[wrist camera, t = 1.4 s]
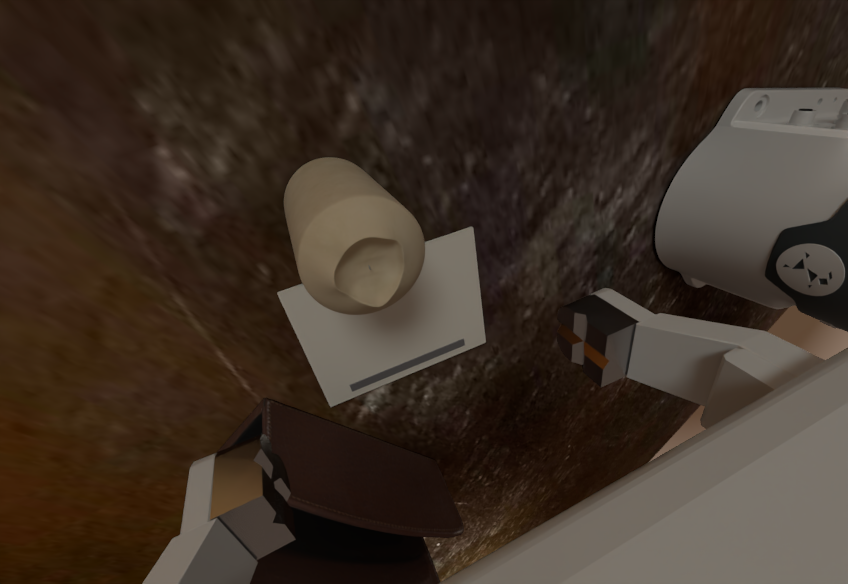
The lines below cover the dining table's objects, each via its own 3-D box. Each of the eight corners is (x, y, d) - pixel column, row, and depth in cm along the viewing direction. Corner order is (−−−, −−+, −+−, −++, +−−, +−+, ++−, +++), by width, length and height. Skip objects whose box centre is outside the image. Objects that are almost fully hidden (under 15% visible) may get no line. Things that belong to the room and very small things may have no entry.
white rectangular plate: (471, 226, 28) (473, 228, 27) (484, 340, 34) (486, 343, 33) (277, 292, 24) (277, 295, 24) (329, 404, 31) (330, 408, 30)
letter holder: (373, 521, 41) (420, 695, 29) (185, 484, 29) (143, 747, 18) (436, 457, 40) (510, 613, 28) (264, 393, 28) (273, 613, 17)
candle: (379, 237, 25) (439, 315, 17) (294, 253, 24) (315, 347, 16) (370, 151, 23) (437, 196, 14) (272, 161, 21) (286, 218, 13)
